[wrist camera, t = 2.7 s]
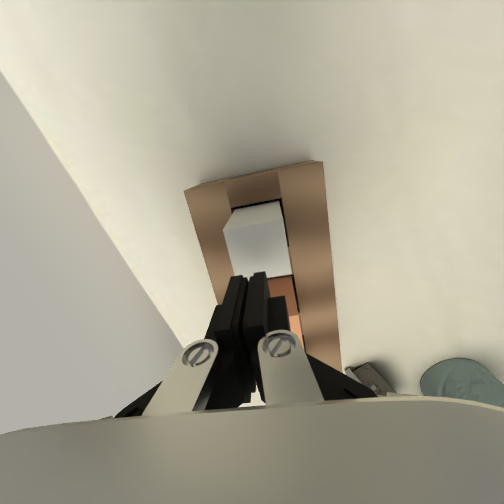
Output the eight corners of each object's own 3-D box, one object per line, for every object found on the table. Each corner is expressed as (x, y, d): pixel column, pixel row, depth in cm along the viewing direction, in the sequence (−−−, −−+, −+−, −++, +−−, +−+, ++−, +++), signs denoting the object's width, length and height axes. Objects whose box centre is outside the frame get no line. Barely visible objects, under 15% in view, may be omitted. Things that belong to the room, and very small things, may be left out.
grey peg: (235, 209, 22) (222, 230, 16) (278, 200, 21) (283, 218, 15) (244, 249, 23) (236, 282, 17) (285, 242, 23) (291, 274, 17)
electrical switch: (342, 367, 34) (371, 427, 26) (371, 352, 33) (409, 408, 25) (369, 402, 36) (402, 466, 29) (396, 388, 36) (439, 450, 28)
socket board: (198, 184, 26) (183, 191, 21) (312, 160, 24) (322, 161, 19) (246, 354, 34) (242, 386, 30) (332, 345, 33) (342, 376, 28)
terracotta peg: (251, 280, 25) (246, 321, 18) (290, 274, 24) (298, 315, 18) (259, 312, 26) (256, 360, 20) (296, 307, 25) (304, 355, 19)
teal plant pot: (452, 342, 31) (554, 446, 20) (510, 372, 33) (636, 485, 21) (399, 389, 35) (460, 499, 24) (453, 415, 36) (535, 530, 25)
